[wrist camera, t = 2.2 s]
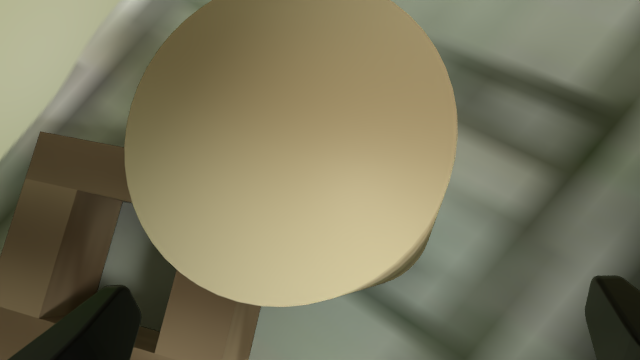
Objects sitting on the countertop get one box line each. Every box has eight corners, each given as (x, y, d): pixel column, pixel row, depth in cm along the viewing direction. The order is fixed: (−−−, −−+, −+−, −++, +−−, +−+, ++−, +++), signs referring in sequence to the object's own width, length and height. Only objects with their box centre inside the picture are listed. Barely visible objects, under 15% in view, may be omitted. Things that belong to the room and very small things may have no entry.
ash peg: (417, 293, 18) (419, 349, 5) (318, 269, 19) (85, 261, 6) (435, 192, 19) (485, -12, 5) (338, 174, 20) (172, -38, 6)
